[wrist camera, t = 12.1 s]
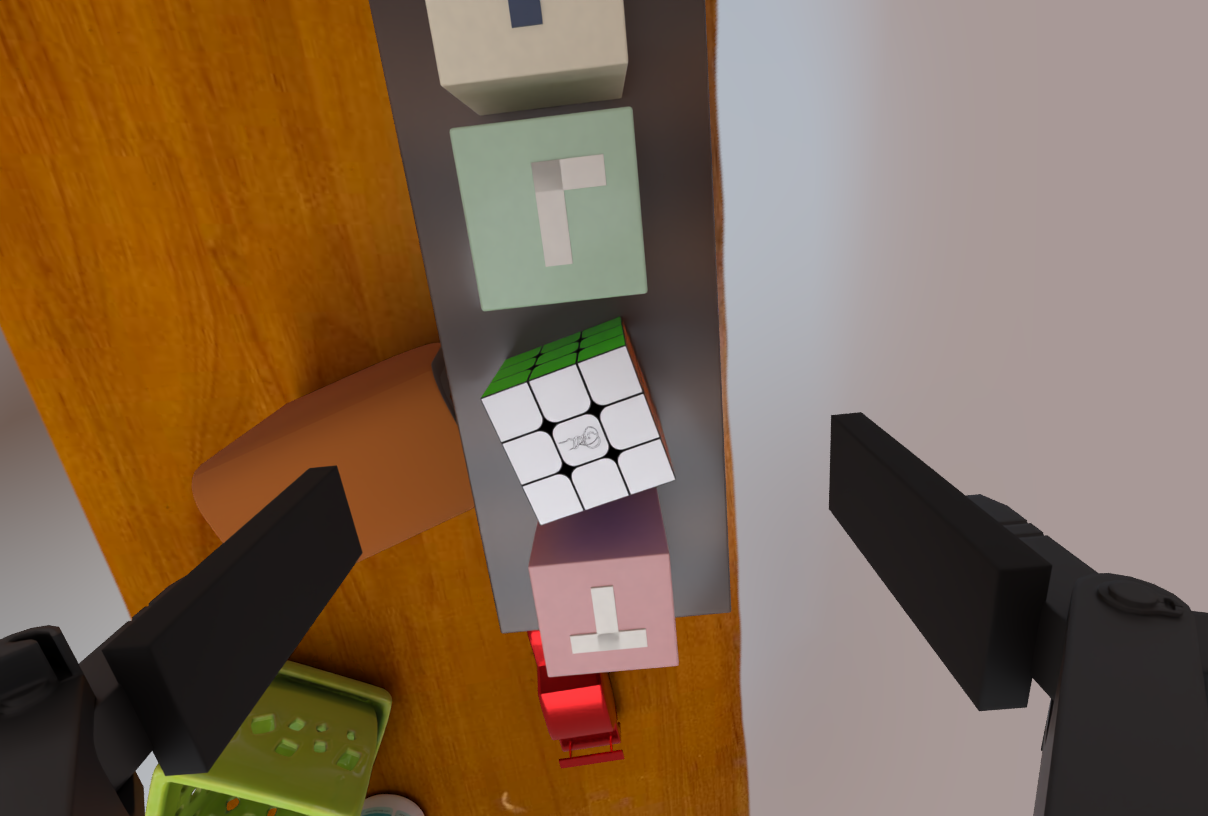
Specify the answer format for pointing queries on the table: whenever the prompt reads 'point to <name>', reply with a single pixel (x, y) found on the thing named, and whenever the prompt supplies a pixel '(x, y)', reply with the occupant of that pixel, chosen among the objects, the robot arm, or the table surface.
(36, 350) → the table surface
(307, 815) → the flower pot
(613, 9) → the cream block
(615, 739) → the toy car
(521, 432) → the rubik's cube
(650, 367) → the walnut step
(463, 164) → the sage block
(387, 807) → the pill bottle
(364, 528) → the alarm clock
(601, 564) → the rose block
